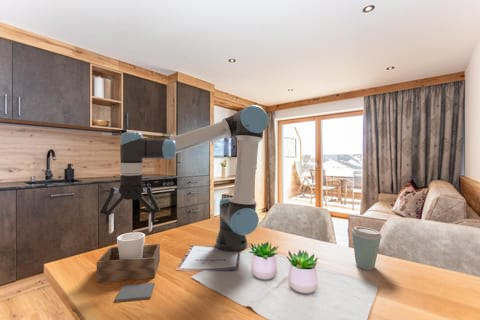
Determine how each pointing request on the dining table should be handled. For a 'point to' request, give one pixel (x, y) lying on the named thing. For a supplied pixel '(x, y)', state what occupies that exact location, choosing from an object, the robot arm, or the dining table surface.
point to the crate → (128, 265)
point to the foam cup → (131, 245)
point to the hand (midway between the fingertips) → (131, 231)
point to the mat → (135, 292)
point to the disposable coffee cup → (366, 246)
